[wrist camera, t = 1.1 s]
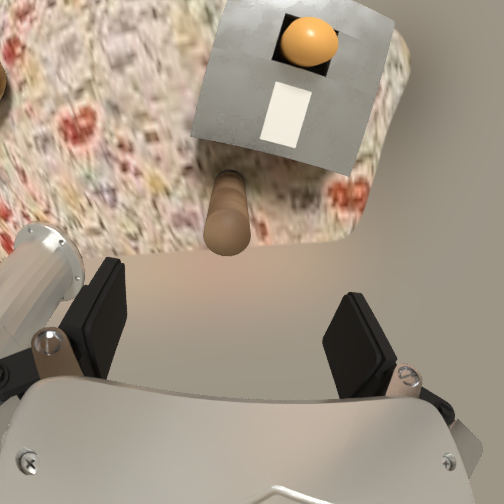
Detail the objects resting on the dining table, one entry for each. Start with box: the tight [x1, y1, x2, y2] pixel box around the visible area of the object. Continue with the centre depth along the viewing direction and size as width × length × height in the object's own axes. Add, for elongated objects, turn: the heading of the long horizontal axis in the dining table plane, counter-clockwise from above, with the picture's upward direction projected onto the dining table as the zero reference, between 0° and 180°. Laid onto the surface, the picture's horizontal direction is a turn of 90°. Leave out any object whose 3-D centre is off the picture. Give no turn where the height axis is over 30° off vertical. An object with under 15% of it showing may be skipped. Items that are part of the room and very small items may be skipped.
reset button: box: [278, 17, 338, 69], centre depth 18 cm, size 4×4×4 cm
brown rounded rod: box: [203, 170, 251, 256], centre depth 25 cm, size 3×3×12 cm
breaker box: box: [190, 0, 395, 177], centre depth 22 cm, size 16×14×6 cm
